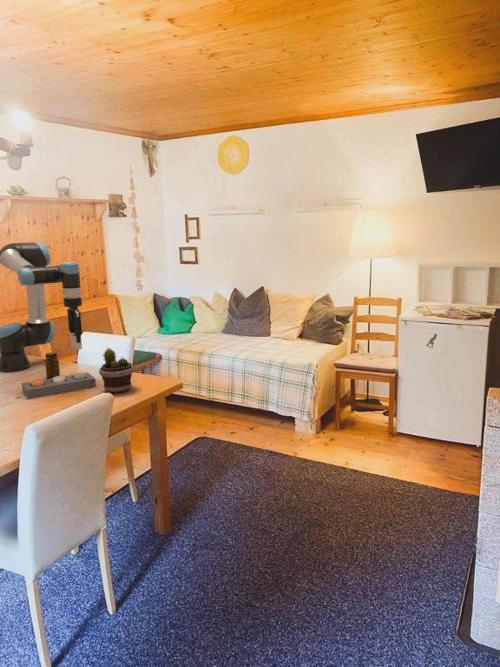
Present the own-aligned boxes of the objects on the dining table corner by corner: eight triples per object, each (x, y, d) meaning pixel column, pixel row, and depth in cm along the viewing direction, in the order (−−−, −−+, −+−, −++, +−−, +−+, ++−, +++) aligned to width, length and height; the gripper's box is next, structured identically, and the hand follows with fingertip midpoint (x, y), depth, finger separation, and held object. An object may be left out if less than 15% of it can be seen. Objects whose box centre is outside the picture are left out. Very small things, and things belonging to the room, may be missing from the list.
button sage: (72, 381, 227) (72, 373, 227) (83, 379, 230) (83, 372, 229) (75, 383, 223) (74, 376, 222) (86, 381, 226) (86, 374, 225)
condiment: (58, 374, 246) (56, 351, 243) (64, 378, 239) (62, 354, 237) (43, 377, 241) (40, 353, 239) (48, 381, 235) (46, 356, 232)
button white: (52, 384, 222) (51, 377, 222) (63, 382, 225) (63, 375, 224) (54, 387, 218) (54, 379, 218) (66, 385, 221) (65, 377, 220)
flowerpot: (142, 388, 222) (139, 344, 218) (117, 397, 210) (113, 352, 205) (118, 383, 230) (115, 341, 226) (93, 392, 217) (89, 348, 213)
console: (22, 391, 219) (21, 383, 218) (88, 380, 235) (87, 372, 234) (27, 399, 209) (26, 390, 209) (95, 386, 225) (95, 378, 224)
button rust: (30, 388, 218) (30, 380, 217) (42, 386, 220) (42, 378, 220) (33, 391, 213) (32, 383, 213) (45, 389, 216) (44, 381, 215)
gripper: (58, 295, 224) (63, 345, 229) (69, 300, 209) (73, 353, 214) (75, 294, 228) (79, 343, 233) (86, 298, 213) (91, 350, 218)
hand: (76, 348), depth 223 cm, fingers open, 6 cm apart
